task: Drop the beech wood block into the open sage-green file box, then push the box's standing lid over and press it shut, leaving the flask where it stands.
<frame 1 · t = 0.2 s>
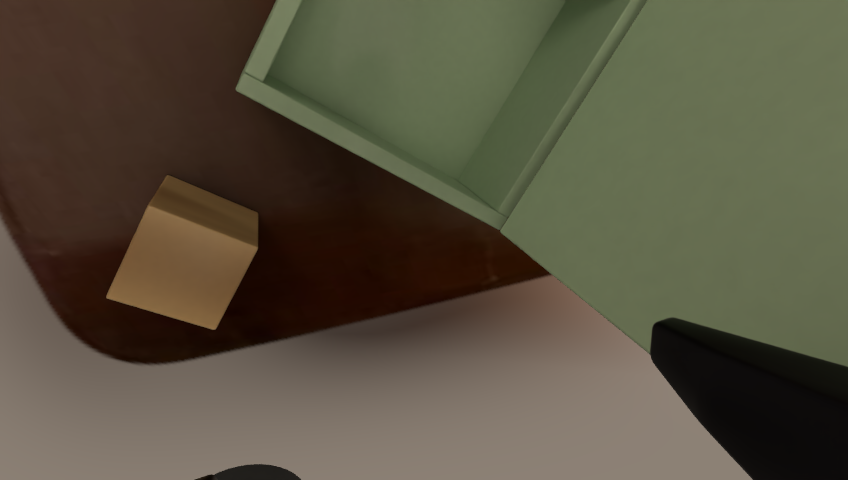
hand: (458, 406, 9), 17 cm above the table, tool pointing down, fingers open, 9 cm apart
file box: (422, 27, 23), on the table
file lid: (719, 154, 15), point 13 cm above the table, hinge at 95.0°
block: (196, 232, 24), on the table
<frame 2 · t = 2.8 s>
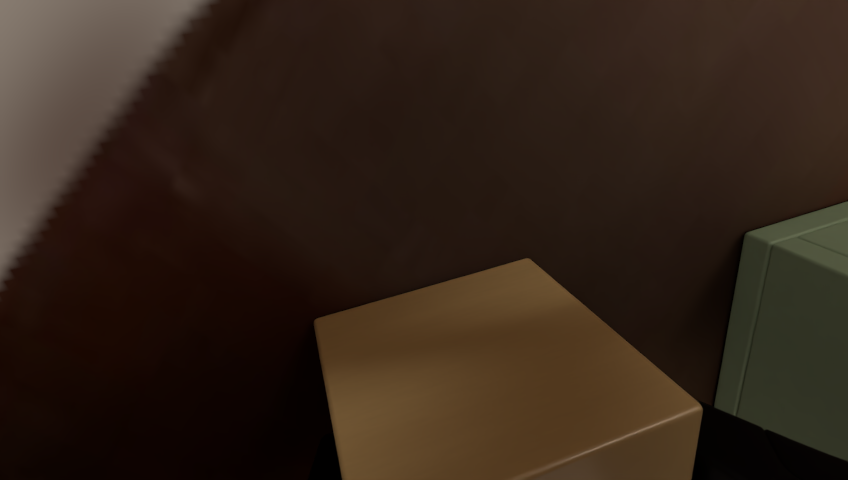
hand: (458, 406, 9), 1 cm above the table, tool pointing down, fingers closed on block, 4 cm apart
block: (439, 373, 10), on the table, touching gripper
when the fingers open (7 cm above the table, at t = 6.9 s): block drops 5 cm, resting on file box.
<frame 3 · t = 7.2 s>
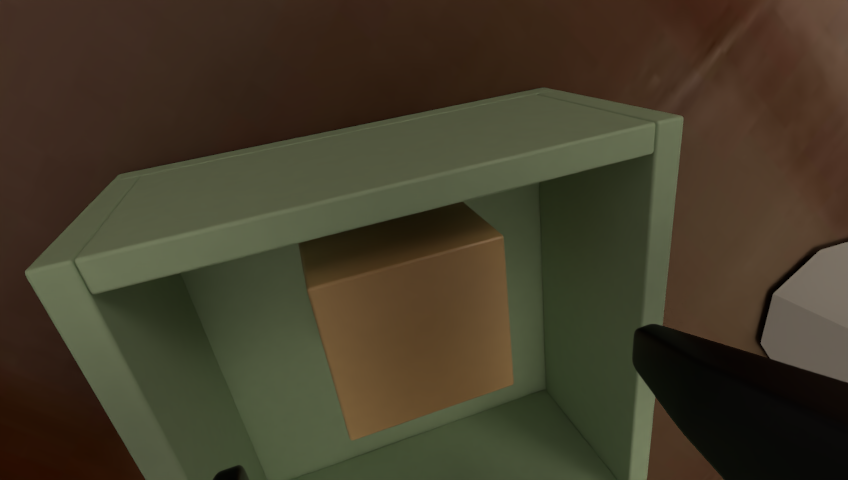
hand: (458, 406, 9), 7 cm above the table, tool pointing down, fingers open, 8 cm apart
file box: (388, 305, 16), on the table
block: (381, 262, 15), point 1 cm above the table, touching file box
flask: (809, 301, 24), on the table
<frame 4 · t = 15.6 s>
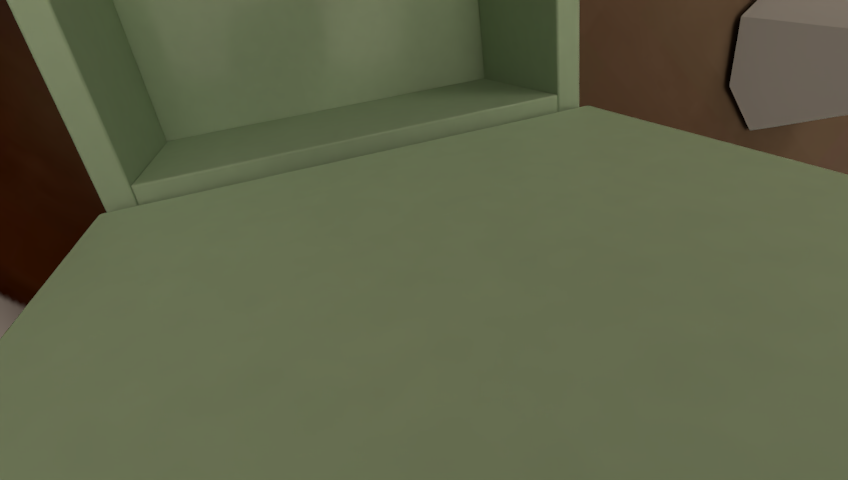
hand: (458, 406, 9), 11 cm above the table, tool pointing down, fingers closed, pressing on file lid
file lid: (480, 303, 6), point 13 cm above the table, hinge at 91.1°, touching gripper
flask: (783, 49, 22), on the table
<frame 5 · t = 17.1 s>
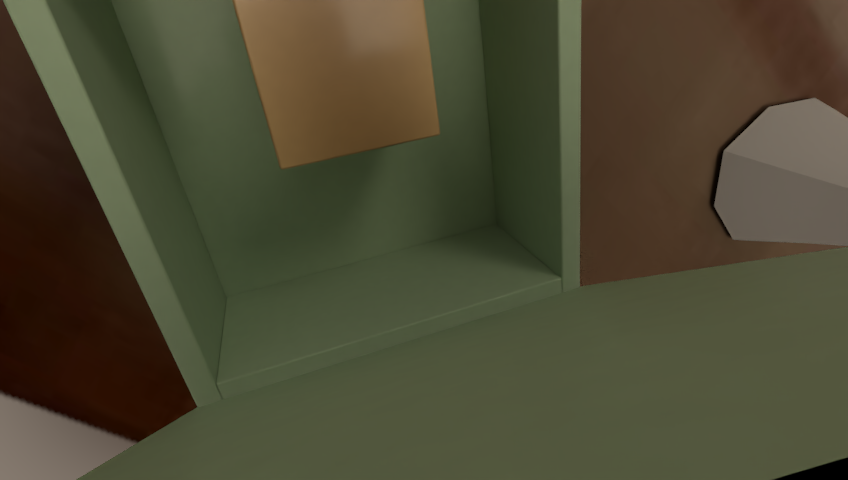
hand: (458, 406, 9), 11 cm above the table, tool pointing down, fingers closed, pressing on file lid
file box: (336, 115, 17), on the table
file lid: (466, 377, 8), point 12 cm above the table, hinge at 56.3°, touching gripper
block: (325, 56, 16), point 1 cm above the table, touching file box
flask: (763, 169, 25), on the table
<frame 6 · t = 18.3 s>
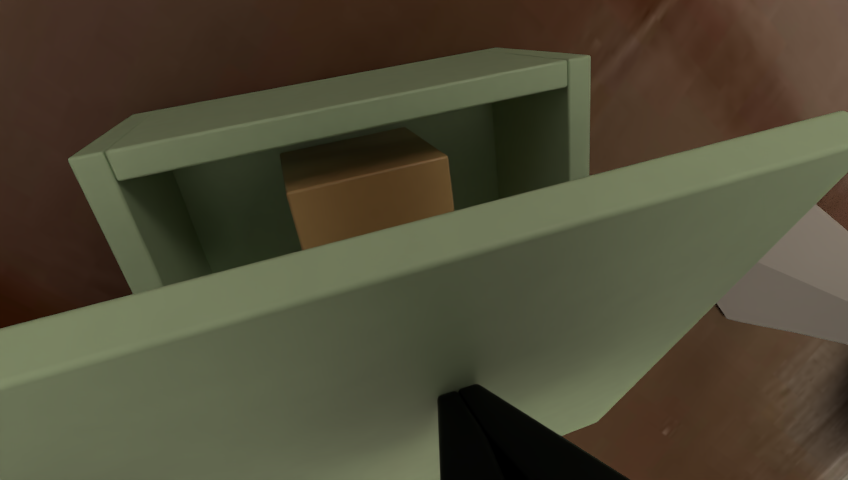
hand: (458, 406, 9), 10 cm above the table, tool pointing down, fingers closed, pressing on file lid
file box: (364, 241, 19), on the table
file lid: (444, 409, 11), point 9 cm above the table, hinge at 27.6°, touching gripper
block: (356, 198, 17), point 1 cm above the table, touching file box
flask: (755, 255, 27), on the table
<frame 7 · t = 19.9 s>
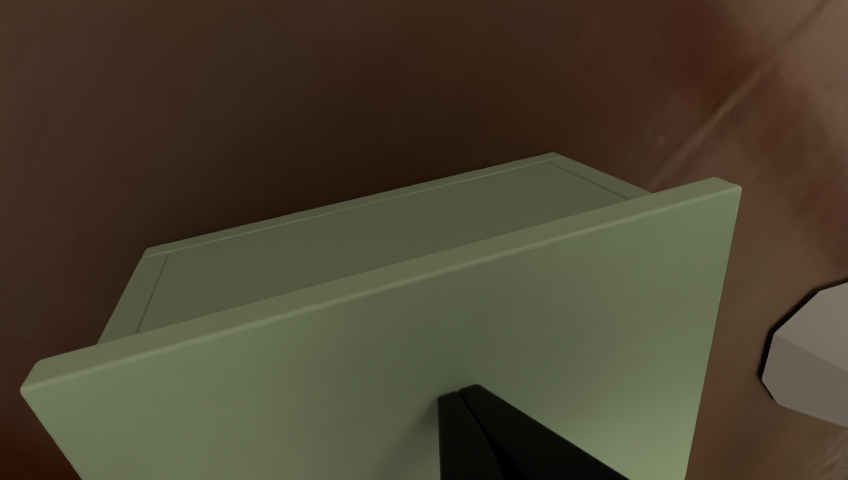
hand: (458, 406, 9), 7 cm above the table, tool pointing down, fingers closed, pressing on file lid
file box: (401, 357, 17), on the table
flask: (809, 338, 25), on the table
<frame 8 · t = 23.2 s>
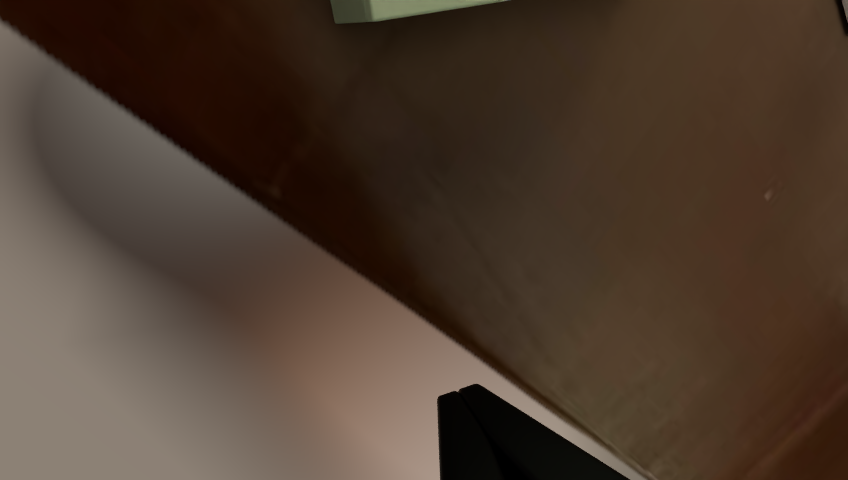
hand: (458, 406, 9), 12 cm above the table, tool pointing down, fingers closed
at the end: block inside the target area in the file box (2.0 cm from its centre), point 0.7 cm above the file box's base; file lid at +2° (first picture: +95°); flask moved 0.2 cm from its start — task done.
